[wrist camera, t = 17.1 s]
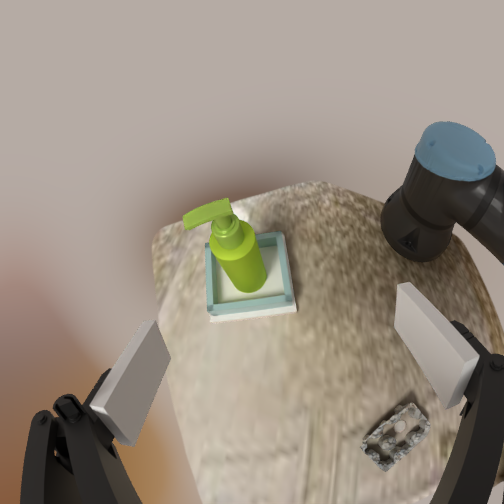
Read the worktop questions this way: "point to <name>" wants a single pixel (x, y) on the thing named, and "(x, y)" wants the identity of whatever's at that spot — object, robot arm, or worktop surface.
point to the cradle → (257, 303)
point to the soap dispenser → (231, 244)
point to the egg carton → (390, 442)
